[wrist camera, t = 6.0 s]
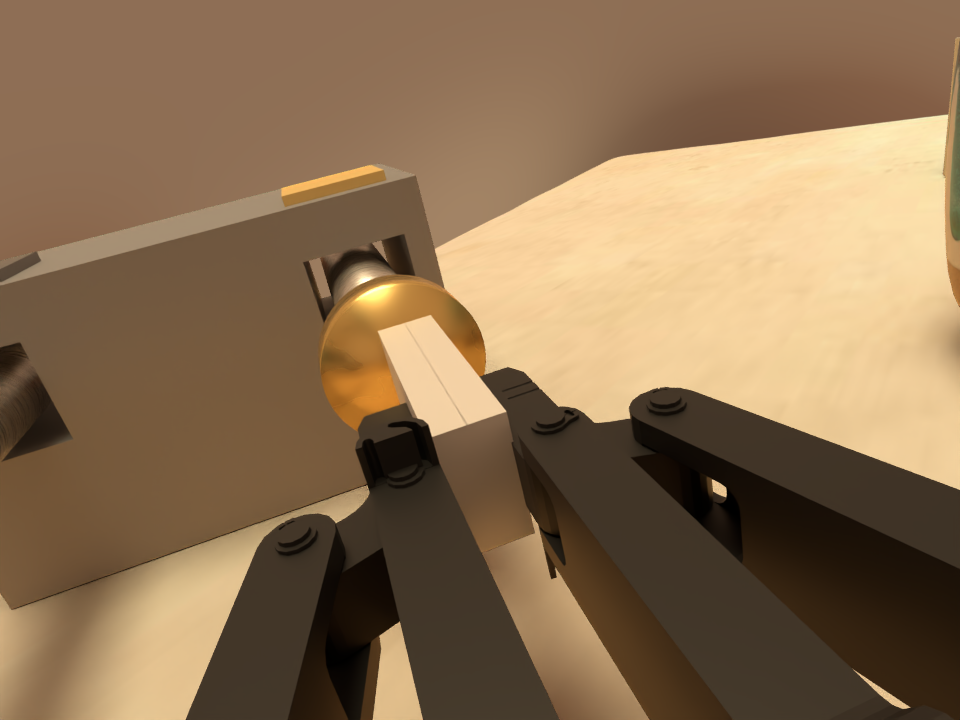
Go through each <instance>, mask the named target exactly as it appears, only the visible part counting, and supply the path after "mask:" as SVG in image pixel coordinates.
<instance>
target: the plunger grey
mask: <svg viewBox="0 0 960 720" xmlns="http://www.w3.org/2000/svg"><path fill="white" fill-rule="evenodd" d="M52 402H53V401H52V399H51V398H50V396H49V394H48V392H47V390H46V388H45V387H44V385H43V383H42V381H41V379H40V378H39V376H38V374H37V372H36V370H35V368H34V367H33V365H32V363H31V361H30V359H29V358H28V356H27V354H26V352H25V350H24V348H23V347H22V345H21V343H20V342H18V343H15V344H11V345H8V346H4V347H1V348H0V462H1V461H2V460H3V459H4V458H5V457H6V455H7V454H8V453H9V452H10V451H11V450H12V448H13V447H14V446H15V445H16V444H17V443H18V441H19V440H20V439H21V438H22V437H23V436H24V434H25V433H26V432H27V431H28V430H29V429H30V427H31V426H32V425H33V424H34V423H35V421H36V420H37V419H38V418H39V417H40V416H41V414H42V413H43V412H44V411H45V410H46V409H47V407H48V406H49V405H50V404H51V403H52Z"/></svg>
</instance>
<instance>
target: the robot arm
mask: <svg viewBox="0 0 960 720" xmlns="http://www.w3.org/2000/svg"><path fill="white" fill-rule="evenodd" d="M378 334H379V337H380V340H381V344H382V347H383V350H384V353H385V357H386V360H387V363H388V366H389V370H390V373H391V376H392V379H393V383H394V386H395V389H396V392H397V396H398V399H399V402H400V405H397V406H394V407H391V408H388V409H385V410H382V411H379V412H376V413H373V414H370V415H367V416H364V417H363V419H362V421H361V423H360V425H359V427H358V433H359V440H358V441H357V442H356V447H355V451H356V454H357V457H358V459H359V462H360V465H361V468H362V471H363V474H364V477H365V479H366V482H367V485H368V488H369V492H370V494H369V496H368V498H367V500H366V501H365V502H364V504H363V505H362V506H361V507H360V508H359V509H357V510H356V511H355V512H354V513H352V514H351V515H349V516H348V517H346V518H345V519H343V520H342V521H340V522H338V523H335V522H334V521H333V520H332V519H331V518H330V517H329V516H326V515H322V514H308V515H303V516H300V517H297V518H292V519H290V520H288V521H285V523H282V524H280V525H279V526H277V527H276V528H275V529H274V530H272V531H271V532H270V533H269V534H268V535H267V536H265V537H264V539H263V540H262V542H261V543H260V545H259V546H258V548H257V550H256V552H255V555H254V557H253V559H252V562H251V564H250V567H249V569H248V571H247V574H246V576H245V579H244V581H243V583H242V586H241V588H240V590H239V593H238V595H237V598H236V600H235V602H234V605H233V607H232V610H231V612H230V614H229V617H228V619H227V622H226V624H225V626H224V629H223V631H222V634H221V636H220V638H219V641H218V643H217V646H216V648H215V650H214V653H213V655H212V658H211V660H210V662H209V665H208V667H207V670H206V672H205V674H204V677H203V679H202V682H201V684H200V686H199V689H198V691H197V694H196V696H195V698H194V701H193V703H192V706H191V708H190V710H189V713H188V715H187V718H186V720H373V711H374V703H375V695H376V686H377V678H378V669H379V661H380V653H381V645H380V638H379V635H381V634H382V633H384V632H385V631H387V630H388V629H389V628H391V627H392V626H394V625H395V624H397V623H398V622H399V621H400V623H401V628H402V632H403V636H404V640H405V645H406V649H407V653H408V657H409V662H410V666H411V670H412V674H413V679H414V683H415V687H416V691H417V696H418V700H419V704H420V708H421V713H422V717H423V720H559V718H558V716H557V713H556V711H555V709H554V707H553V705H552V703H551V701H550V699H549V696H548V694H547V692H546V690H545V688H544V686H543V684H542V681H541V679H540V677H539V675H538V673H537V671H536V669H535V666H534V664H533V662H532V660H531V658H530V656H529V654H528V651H527V649H526V647H525V645H524V643H523V641H522V639H521V636H520V634H519V632H518V630H517V628H516V626H515V624H514V621H513V619H512V617H511V615H510V613H509V611H508V609H507V606H506V604H505V602H504V600H503V598H502V596H501V594H500V591H499V589H498V587H497V585H496V583H495V581H494V579H493V577H492V574H491V572H490V570H489V568H488V566H487V564H486V562H485V559H484V557H483V555H482V553H483V552H486V551H489V550H491V549H494V548H496V547H499V546H502V545H504V544H507V543H509V542H512V541H515V540H517V539H520V538H523V537H525V536H528V535H530V534H533V533H535V532H534V527H533V523H532V519H531V514H532V515H533V517H534V519H535V520H536V522H537V523H538V525H539V529H540V534H541V538H542V542H543V547H544V551H545V555H546V560H547V564H548V569H549V573H550V576H551V579H554V578H556V577H557V576H556V572H555V567H556V568H557V570H558V571H559V573H560V575H561V576H562V578H563V580H564V581H565V583H566V584H567V586H568V588H569V589H570V591H571V593H572V594H573V596H574V597H575V599H576V601H577V602H578V604H579V606H580V607H581V609H582V610H583V612H584V614H585V615H586V617H587V619H588V620H589V622H590V623H591V625H592V627H593V628H594V630H595V632H596V633H597V635H598V636H599V638H600V640H601V641H602V643H603V645H604V646H605V648H606V650H607V651H608V653H609V654H610V656H611V658H612V659H613V661H614V663H615V664H616V666H617V667H618V669H619V671H620V672H621V674H622V676H623V677H624V679H625V680H626V682H627V684H628V685H629V687H630V689H631V690H632V692H633V693H634V695H635V697H636V698H637V700H638V702H639V703H640V705H641V706H642V708H643V710H644V711H645V713H646V715H647V716H648V718H649V720H960V490H958V489H956V488H953V487H950V486H948V485H945V484H942V483H940V482H937V481H934V480H931V479H929V478H926V477H923V476H921V475H918V474H915V473H913V472H910V471H907V470H905V469H902V468H899V467H896V466H894V465H891V464H888V463H886V462H883V461H880V460H878V459H875V458H872V457H870V456H867V455H864V454H861V453H859V452H856V451H853V450H851V449H848V448H845V447H843V446H840V445H837V444H834V443H832V442H829V441H826V440H824V439H821V438H818V437H816V436H813V435H810V434H808V433H805V432H802V431H799V430H797V429H794V428H791V427H789V426H786V425H783V424H781V423H778V422H775V421H772V420H770V419H767V418H764V417H762V416H759V415H756V414H754V413H751V412H748V411H746V410H743V409H740V408H737V407H735V406H732V405H729V404H727V403H724V402H721V401H719V400H716V399H713V398H711V397H708V396H705V395H702V394H700V393H697V392H694V391H691V390H687V389H682V388H669V387H663V388H660V389H658V388H657V389H653V390H650V391H648V392H646V393H643V394H640V395H639V396H638V397H636V398H635V399H634V400H632V402H631V404H630V406H629V411H630V418H631V419H625V420H618V421H612V422H604V423H594V422H593V421H592V420H591V419H590V418H588V417H587V416H586V415H585V414H584V413H583V412H581V411H579V410H578V409H576V408H570V407H558V406H557V405H556V404H555V403H554V402H553V401H552V400H551V399H550V398H549V397H548V396H547V395H546V394H545V393H544V392H543V391H542V390H541V389H539V387H538V386H537V385H536V384H535V383H534V382H532V380H531V379H530V378H529V377H528V376H527V375H526V374H525V373H524V372H522V371H519V370H516V369H512V368H509V367H507V368H504V369H501V370H498V371H495V372H492V373H489V374H486V375H483V376H480V377H479V376H478V375H477V373H476V372H475V371H474V370H473V368H472V367H471V366H470V364H469V363H468V362H467V361H466V359H465V358H464V357H463V356H462V354H461V353H460V352H459V351H458V349H457V348H456V347H455V345H454V344H453V343H452V342H451V340H450V339H449V338H448V337H447V335H446V334H445V333H444V331H443V330H442V329H441V328H440V326H439V325H438V324H437V323H436V321H435V320H434V319H433V317H432V316H431V315H429V316H426V317H422V318H419V319H416V320H413V321H409V322H406V323H403V324H400V325H396V326H393V327H390V328H387V329H383V330H380V331H378ZM712 479H713V480H715V481H717V482H719V483H721V484H722V485H724V486H725V487H726V489H727V497H723V496H720V495H718V494H716V493H715V492H713V487H712ZM530 512H531V514H530ZM853 669H854V670H855V671H857V672H858V673H860V674H861V675H863V676H864V677H866V678H867V679H869V680H870V681H872V682H873V683H875V684H876V685H878V686H879V687H881V688H882V689H884V690H885V691H887V692H888V693H890V694H891V695H893V696H894V697H896V698H897V699H899V700H900V701H902V702H903V703H905V704H906V705H908V706H909V707H911V708H907V709H901V708H899V707H896V706H894V705H892V704H890V703H889V702H888V701H887V700H885V699H884V698H883V697H881V696H880V695H879V694H878V693H877V692H876V691H875V690H874V689H873V688H872V687H871V686H870V685H869V684H868V683H866V682H865V681H864V680H863V679H862V678H861V677H860V676H859V675H858V674H857V673H856V672H855V671H854V670H853Z"/></svg>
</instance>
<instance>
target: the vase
mask: <svg viewBox="0 0 960 720" xmlns="http://www.w3.org/2000/svg"><path fill="white" fill-rule="evenodd" d="M945 236H946V256H947V265H948V273H949V278H950V282H951V286H952V290H953V294H954V296H955V299H956V301H957V303H958V305H959V307H960V41H959V47H958V53H957V60H956V66H955V73H954V82H953V90H952V99H951V109H950V121H949V132H948V145H947V161H946V177H945Z"/></svg>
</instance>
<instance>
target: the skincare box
mask: <svg viewBox="0 0 960 720" xmlns="http://www.w3.org/2000/svg"><path fill="white" fill-rule="evenodd" d="M959 41H960V37H959V38H956V40H955V51H954V62H953V72H952V84H951V94H950V105H949V116H948V127H947V137H946V148H945V159H944V169H943V175H944V176H946V161H947V145H948V132H949V121H950V109H951V99H952V90H953V82H954V73H955V66H956V60H957V53H958V47H959Z"/></svg>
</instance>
